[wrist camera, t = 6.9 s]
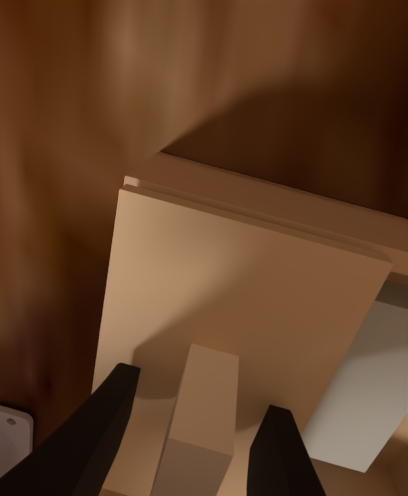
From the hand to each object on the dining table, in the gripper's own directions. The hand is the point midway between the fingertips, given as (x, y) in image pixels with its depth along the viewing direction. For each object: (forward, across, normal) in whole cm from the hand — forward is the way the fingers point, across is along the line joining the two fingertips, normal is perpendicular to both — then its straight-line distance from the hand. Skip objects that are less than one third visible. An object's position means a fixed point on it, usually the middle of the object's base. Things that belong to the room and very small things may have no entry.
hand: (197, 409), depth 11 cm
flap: (+1, 0, 0) cm, 1 cm away
